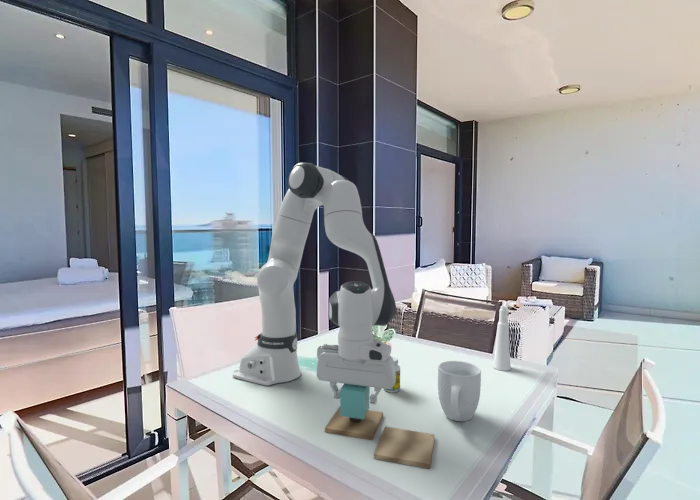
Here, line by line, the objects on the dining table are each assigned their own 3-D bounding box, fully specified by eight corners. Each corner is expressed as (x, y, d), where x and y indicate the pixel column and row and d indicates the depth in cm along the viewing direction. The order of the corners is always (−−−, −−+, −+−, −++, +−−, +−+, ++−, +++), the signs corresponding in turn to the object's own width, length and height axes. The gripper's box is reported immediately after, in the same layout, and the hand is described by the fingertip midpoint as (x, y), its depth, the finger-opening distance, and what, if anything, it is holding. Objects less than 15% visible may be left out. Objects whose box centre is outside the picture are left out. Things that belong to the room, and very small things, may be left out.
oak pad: (373, 458, 86) (373, 454, 86) (385, 430, 97) (385, 426, 97) (429, 468, 83) (429, 464, 82) (434, 438, 94) (434, 434, 94)
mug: (477, 437, 94) (478, 384, 93) (431, 428, 98) (432, 377, 97) (480, 410, 108) (482, 363, 107) (440, 403, 112) (441, 358, 111)
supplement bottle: (392, 384, 125) (392, 354, 124) (403, 390, 120) (404, 359, 120) (379, 388, 122) (379, 357, 121) (390, 394, 118) (390, 363, 117)
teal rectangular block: (340, 415, 99) (340, 389, 98) (347, 404, 104) (347, 379, 104) (363, 419, 97) (363, 392, 96) (369, 407, 103) (369, 382, 102)
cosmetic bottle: (488, 366, 140) (490, 305, 139) (501, 363, 143) (503, 303, 142) (502, 372, 135) (504, 309, 133) (514, 369, 138) (517, 307, 136)
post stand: (324, 431, 97) (324, 396, 96) (340, 409, 108) (340, 377, 107) (372, 439, 93) (372, 403, 93) (383, 415, 105) (383, 382, 104)
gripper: (312, 347, 99) (312, 400, 100) (392, 355, 93) (392, 411, 94) (321, 339, 105) (321, 389, 106) (397, 347, 99) (396, 400, 100)
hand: (355, 400), depth 100 cm, fingers open, 8 cm apart
